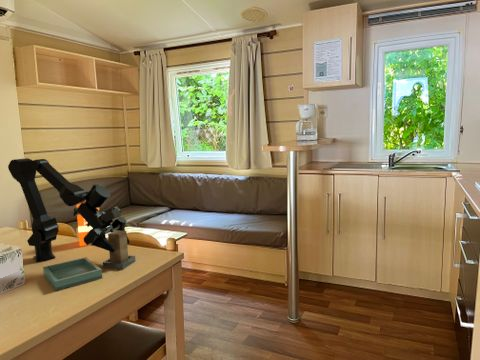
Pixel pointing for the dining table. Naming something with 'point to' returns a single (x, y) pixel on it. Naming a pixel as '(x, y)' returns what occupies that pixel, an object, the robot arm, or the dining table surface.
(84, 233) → the orange juice
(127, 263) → the grey square bin
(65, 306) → the dining table surface
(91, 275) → the tray
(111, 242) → the plate
